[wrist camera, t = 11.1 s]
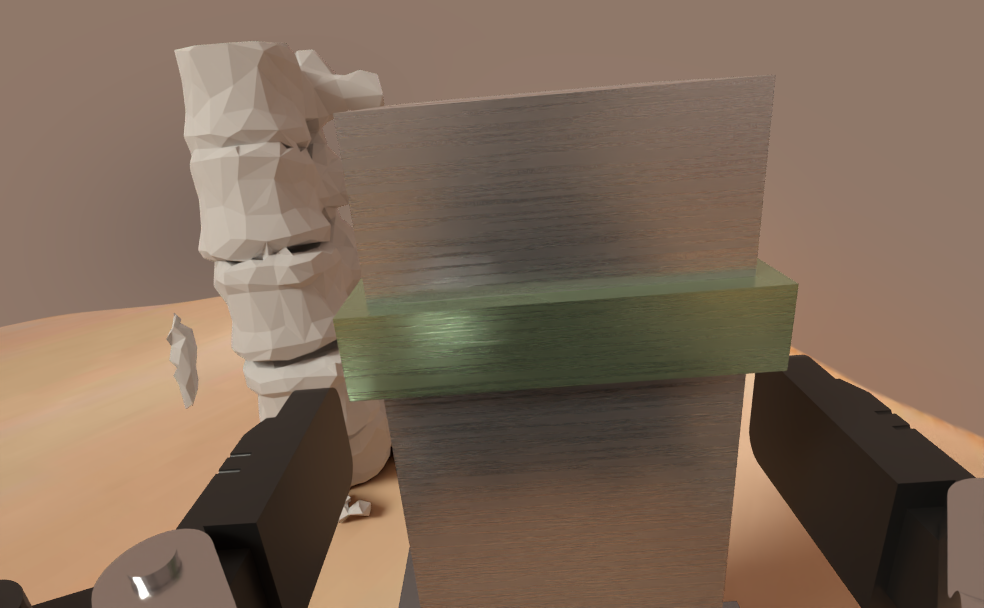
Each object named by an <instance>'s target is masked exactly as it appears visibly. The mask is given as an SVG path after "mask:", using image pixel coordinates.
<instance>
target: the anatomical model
mask: <svg viewBox="0 0 984 608" xmlns="http://www.w3.org/2000/svg"><path fill="white" fill-rule="evenodd" d="M174 51H175V55H176V59H177V63H178V67H179V71H180V75H181V79H182V85H183V93H184V101H185V110H186V116H185V128H184V138H185V140H186V143H187V145H188V147H189V149H190V152H191V154H192V158H191V161H190V170H191V174H192V177H193V181H194V184H195V188H196V191H197V195H198V198H199V202H200V216H201V235H200V242H199V249H198V250H199V252H200V253H201V255H202V256H203V258H205V259H208V260H210V261H213V262H215V268H214V287H215V288H216V290H217V291H218V293H219V294H220V295H221V297H222V298H223V299H224V301H225V302H226V304H227V305H228V308H229V312H230V315H231V318H232V349H233V351H234V352H235V353H237V354H238V355H239V356H240V357H242V358H244V359H245V363H244V366H243V371H244V375H245V379H246V384H247V387H248V388H250V389H251V390H253V391H254V392H256V393H257V394H258V403H259V417H260V422H262V421H263V420H264V419H266V418H271V417H276V416H277V414H278V413H279V411H280V410H281V408H282V407H283V405H284V404H285V402H286V401H287V399H288V398H289V396H290V395H291V393H292V392H293V391H294V390H304V389H318V388H332V387H333V388H335V389H336V390H337V392H338V394H339V397H340V400H341V405H342V410H343V415H344V419H345V424H346V429H347V434H348V438H349V443H350V448H351V452H352V459H353V476H352V483H351V486H354V485H356V484H359V483H363V482H366V481H368V480H369V479H371V478H372V477H374V476H376V475H377V474H378V473H379V472H380V471H381V469H382V468H383V467H384V465H385V463H386V462H387V460H388V458H389V456H390V447H391V446H392V443H391V437H390V432H389V426H388V421H387V415H386V409H385V404H384V399H381V400H367V401H353V402H349V397H348V392H347V387H346V382H345V377H344V372H343V367H342V362H341V358H340V353H339V348H338V343H337V338H336V333H335V328H334V323H333V318H334V316H335V315H336V314H337V312H338V311H339V309H340V308H341V306H342V305H343V304H344V302H345V301H346V299H347V298H348V296H349V295H350V294H351V292H352V291H353V289H354V288H355V286H356V285H357V284H358V282H359V281H360V279H361V278H362V274H361V268H360V263H359V257H358V252H357V246H356V240H355V235H354V229H353V228H352V227H351V226H350V225H349V224H348V223H347V222H346V221H345V220H343V219H342V218H341V216H340V213H339V210H338V207H341V206H344V205H348V204H349V201H348V195H347V190H346V184H345V178H344V173H343V167H342V161H341V158H339V157H338V156H337V155H336V154H335V153H334V152H333V151H332V150H331V149H330V148H329V147H328V145H327V142H326V138H325V135H324V132H323V129H322V127H323V126H324V125H325V124H326V123H327V122H329V121H331V120H333V119H334V116H333V113H339V112H346V111H347V110H353V111H354V110H361V109H368V108H375V107H382V106H384V99H383V93H382V89H381V85H380V81H379V78H378V75H377V74H374V73H370V72H366V71H361V70H358V71H355V72H353V73H350V74H348V75H345V76H344V75H336V73H335V72H334V71H333V70H332V69H331V67H330V66H329V65H328V64H327V63H326V62H325V61H324V60H323V59H322V58H321V57H320V56H319V55H318V54H317V53H316V52H315V51H314V50H304V51H297V52H296V53H295V54H294V52H293V51H292V49H291V48H290V47H289V46H288V45H287V43H270V42H261V41H250V42H235V43H221V44H208V45H196V46H191V47H187V48H182V49H178V50H174ZM180 322H181V318H179V317H178V316H177V315H176V314H175V313H174V319H173V325H172V329H171V330H170V333H169V335H168V337H167V340H168V342H169V343H170V345H171V352H170V361H171V362H172V363H173V364H174V365H175V366H176V367H177V369H176V371H175V373H174V375H173V376H174V377H175V379H176V381H177V382H178V384H179V387H180V391H181V394H182V397H183V401H184V404H185V408H186V409H187V408H189V407H190V406H191V405H192V406H193V403H194V400H195V397H196V393H197V390H198V375H197V370H196V358H197V345H196V342H195V338H194V334H193V331H192V329H191V328H189V327H187V326H185V325H183V324H181V323H180ZM350 498H351V497H349V495H348V496H347V499H346V502H345V504H344V507H343V510H342V513H341V516H340V518H339V521H338V522H339V523H340V522H342V521H343V520H344V519H346V518H347V517H348V516H350V515H362V516H369V514H370V511H371V503H370V502H366V501H363V500H358V501H357V502H356V503H355V504H353V505H352V506H351V507H349V505H348V502H351V499H350Z"/></svg>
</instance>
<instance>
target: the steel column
mask: <svg viewBox="0 0 984 608" xmlns="http://www.w3.org/2000/svg"><path fill="white" fill-rule="evenodd" d="M775 77H776V75H766V76H747V77H730V78H713V79H695V80H677V81H660V82H646V83H634V84H623V85H612V86H600V87H589V88H577V89H566V90H554V91H543V92H533V93H520V94H508V95H498V96H485V97H474V98H462V99H452V100H441V101H428V102H417V103H405V104H396V105H389V106H382V107H375V108H368V109H361V110H354V111H346V112H339V113H333V116H334V122H335V127H336V133H337V139H338V145H339V150H340V156H341V161H342V167H343V173H344V178H345V184H346V190H347V195H348V201H349V206H350V212H351V217H352V223H353V229H354V235H355V240H356V246H357V252H358V257H359V263H360V268H361V274H362V278H361V279H360V281H359V282H358V284H357V285H356V286H355V288H354V289H353V291H352V292H351V294H350V295H349V296H348V298H347V299H346V301H345V302H344V304H343V305H342V306H341V308H340V309H339V311H338V312H337V314H336V315H335V316H334V318H333V323H334V328H335V333H336V338H337V343H338V348H339V353H340V358H341V362H342V367H343V372H344V377H345V382H346V387H347V392H348V397H349V402H353V401H367V400H381V399H384V404H385V409H386V415H387V421H388V426H389V432H390V437H391V443H392V449H393V454H394V460H395V466H396V471H397V477H398V483H399V488H400V494H401V499H402V505H403V511H404V516H405V522H406V528H407V533H408V539H409V544H410V550H411V556H412V561H413V567H414V573H415V578H416V584H417V590H418V595H419V601H420V606H421V608H722V606H723V596H724V586H725V576H726V566H727V556H728V546H729V536H730V526H731V516H732V506H733V497H734V487H735V477H736V467H737V457H738V447H739V437H740V427H741V417H742V407H743V397H744V387H745V377H746V374H748V373H762V372H776V371H787V368H788V361H789V353H790V346H791V338H792V330H793V323H794V315H795V307H796V299H797V292H798V283H796V282H795V281H793V280H792V279H790V278H788V277H787V276H785V275H784V274H782V273H780V272H779V271H777V270H776V269H774V268H773V267H771V266H769V265H768V264H766V263H765V262H763V261H761V260H760V259H758V258H757V257H758V246H759V237H760V227H761V217H762V207H763V196H764V187H765V177H766V167H767V157H768V146H769V137H770V126H771V115H772V107H773V96H774V87H775Z"/></svg>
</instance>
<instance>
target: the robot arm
mask: <svg viewBox="0 0 984 608" xmlns="http://www.w3.org/2000/svg"><path fill="white" fill-rule="evenodd" d="M749 436H750V443H751V447H752V451H753V454H754V456H755V458H756V460H757V462H758V464H759V465H760V466H761V468H762V469H763V471H764V472H765V473H766V475H767V476H768V478H769V479H770V480H771V482H772V483H773V485H774V486H775V487H776V489H777V490H778V492H779V493H780V494H781V496H782V497H783V499H784V500H785V501H786V503H787V504H788V506H789V507H790V508H791V510H792V511H793V513H794V514H795V515H796V517H797V518H798V520H799V521H800V522H801V524H802V525H803V527H804V528H805V529H806V531H807V532H808V534H809V535H810V536H811V538H812V539H813V541H814V542H815V543H816V545H817V546H818V548H819V549H820V550H821V552H822V553H823V555H824V556H825V557H826V559H827V560H828V562H829V563H830V564H831V566H832V567H833V569H834V570H835V571H836V573H837V574H838V576H839V577H840V578H841V580H842V581H843V583H844V584H845V585H846V587H847V588H848V590H849V591H850V592H851V594H852V595H853V597H854V598H855V599H856V601H857V602H858V604H859V605H860V606H861V608H984V478H976V477H974V476H973V475H972V474H971V473H969V472H968V471H967V470H966V469H964V468H963V467H962V466H961V465H959V464H958V463H957V462H956V461H954V460H953V459H952V458H951V457H949V456H948V455H947V454H946V453H944V452H943V451H942V450H941V449H939V448H938V447H937V446H936V445H934V444H933V443H932V442H931V441H929V440H928V439H927V438H926V437H924V436H923V435H922V434H921V433H919V432H918V431H917V430H916V429H911V428H910V425H909V424H908V423H907V422H906V421H904V420H903V419H902V418H901V417H899V416H898V415H897V414H892V412H891V409H889V408H888V407H887V406H886V405H884V404H883V403H882V402H881V401H879V400H878V399H877V398H876V397H874V396H873V395H872V394H871V393H869V392H867V391H865V390H863V389H861V388H858V387H856V386H854V385H852V384H850V383H848V382H845V381H843V380H841V379H835V378H834V377H833V376H831V375H830V374H829V373H828V372H827V371H826V370H824V369H823V368H822V367H821V366H820V365H818V364H817V363H816V362H815V361H814V360H812V359H811V358H810V357H808V356H806V355H792V356H789V361H788V368H787V371H776V372H762V373H755V380H754V390H753V399H752V408H751V418H750V427H749ZM230 455H231V456H230V458H227V459H226V461H225V462H224V463H223V465H222V466H221V467H220V469H219V474H215V476H214V477H213V479H212V480H211V481H210V483H209V484H208V485H207V487H206V488H205V490H204V491H203V492H202V494H201V495H200V496H199V498H198V499H197V501H196V502H195V503H194V505H193V506H192V508H191V509H190V510H189V512H188V513H187V514H186V516H185V517H184V519H183V520H182V521H181V523H180V524H179V526H178V527H177V528H176V530H172V531H167V532H164V533H161V534H158V535H155V536H153V537H150V538H148V539H146V540H144V541H142V542H140V543H138V544H137V545H135V546H133V547H132V548H130V549H128V550H127V551H126V552H124V553H123V554H121V555H120V556H119V557H118V558H117V559H115V560H114V561H113V562H112V563H111V564H110V565H109V566H108V567H107V568H106V569H105V570H104V572H103V573H102V574H101V575H100V577H99V578H98V580H97V582H96V584H95V585H94V587H93V588H89V589H86V590H83V591H80V592H76V593H73V594H70V595H66V596H63V597H60V598H56V599H53V600H50V601H46V602H43V603H40V604H36V605H33V606H31V604H30V602H29V600H28V598H27V596H26V595H25V593H24V591H23V589H22V587H21V586H20V585H19V584H18V583H16V582H14V581H11V580H0V608H308V605H309V602H310V599H311V597H312V594H313V591H314V588H315V585H316V583H317V580H318V577H319V574H320V571H321V569H322V566H323V563H324V560H325V557H326V555H327V552H328V549H329V546H330V543H331V541H332V538H333V535H334V532H335V529H336V527H337V524H338V521H339V518H340V516H341V513H342V510H343V507H344V504H345V502H346V499H347V496H348V493H349V490H350V487H351V483H352V476H353V459H352V452H351V448H350V443H349V438H348V434H347V429H346V424H345V419H344V415H343V410H342V405H341V400H340V397H339V394H338V392H337V390H336V389H335V388H333V387H332V388H318V389H304V390H294V391H293V392H292V393H291V395H290V396H289V398H288V399H287V401H286V402H285V404H284V405H283V407H282V408H281V410H280V411H279V413H278V414H277V416H276V417H271V418H266V419H264V420H263V421H262V422H260V423H259V424H258V425H256V426H255V427H254V428H252V429H251V430H250V431H248V432H247V433H246V434H244V436H243V437H242V438H241V440H240V441H239V443H238V444H237V445H236V447H235V448H234V449H233V451H232V452H231V454H230Z"/></svg>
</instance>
